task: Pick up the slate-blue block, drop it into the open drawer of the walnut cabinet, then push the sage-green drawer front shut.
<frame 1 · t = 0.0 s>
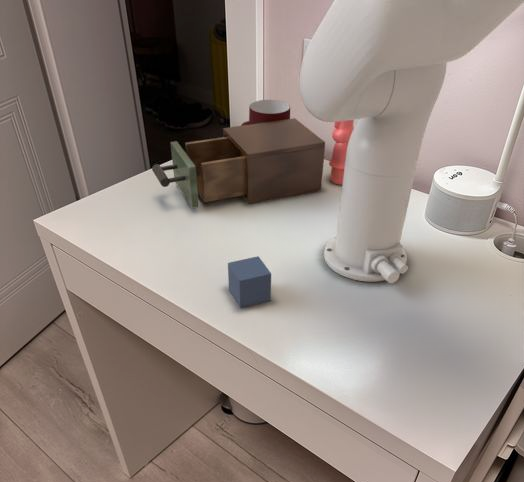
block: (249, 295, 76), on the table
drawer: (205, 170, 95), point 5 cm above the table, slide at 9.0 cm
figurine: (340, 180, 104), on the table
cabinet: (271, 183, 102), on the table
mug: (263, 158, 111), on the table
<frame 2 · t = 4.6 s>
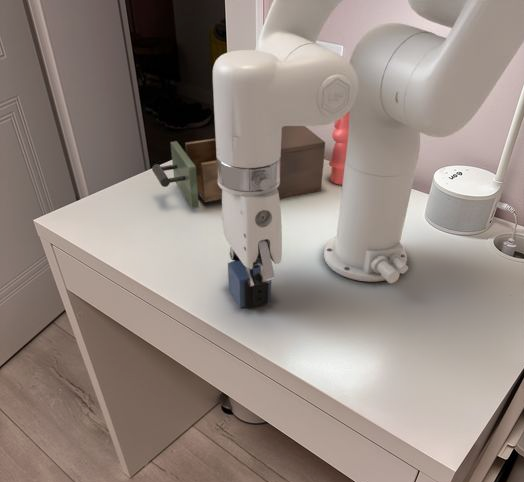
hand: (249, 293, 76), 0 cm above the table, tool pointing down, fingers closed on block, 4 cm apart
block: (249, 295, 76), on the table, touching gripper
everything else where it was.
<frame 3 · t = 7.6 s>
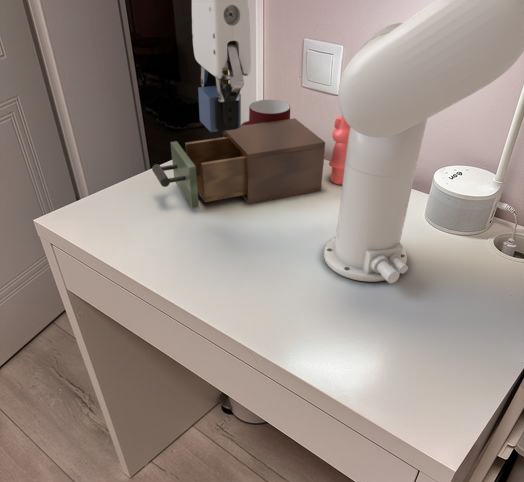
hand: (220, 121, 77), 18 cm above the table, tool pointing down, fingers closed on block, 4 cm apart
block: (220, 124, 77), point 17 cm above the table, touching gripper
everything else where it was.
when the fingers open (10 cm above the table, at t = 10.8 s): block drops 8 cm, resting on drawer.
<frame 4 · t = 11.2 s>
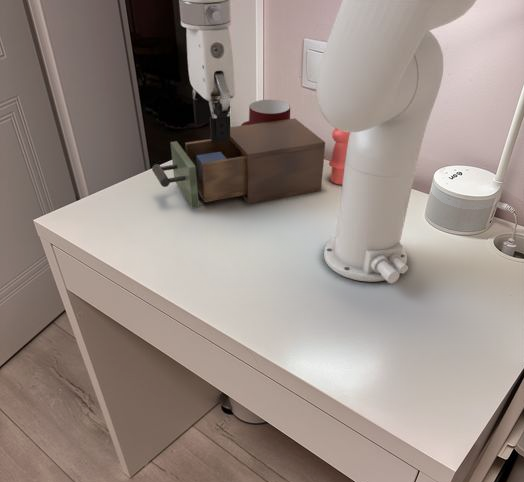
hand: (212, 131, 91), 11 cm above the table, tool pointing down, fingers open, 8 cm apart
block: (213, 183, 97), point 2 cm above the table, touching drawer
drawer: (205, 170, 95), point 5 cm above the table, slide at 9.0 cm, touching block
everything else where it was.
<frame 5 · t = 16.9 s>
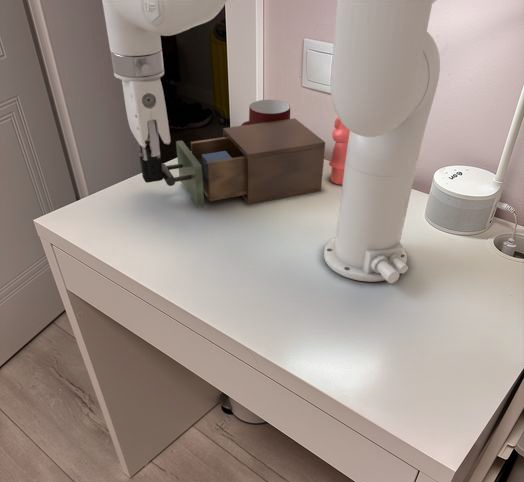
hand: (153, 179, 93), 4 cm above the table, tool pointing down, fingers closed
block: (218, 182, 98), point 2 cm above the table, touching drawer
drawer: (211, 169, 96), point 5 cm above the table, slide at 8.0 cm, touching block, gripper
everything else where it was.
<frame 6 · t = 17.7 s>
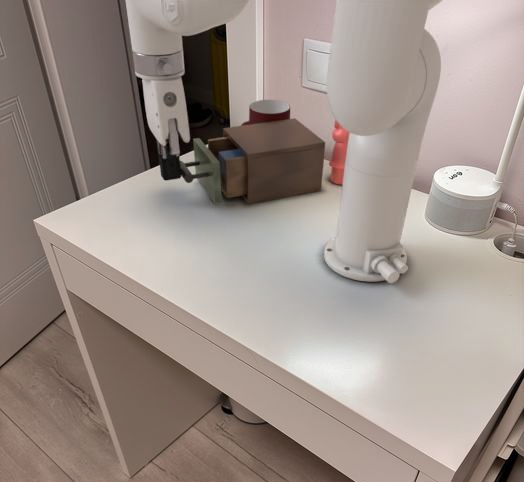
hand: (171, 177, 94), 4 cm above the table, tool pointing down, fingers closed
block: (235, 179, 99), point 2 cm above the table, touching drawer
drawer: (228, 167, 96), point 5 cm above the table, slide at 4.8 cm, touching block, gripper
everything else where it was.
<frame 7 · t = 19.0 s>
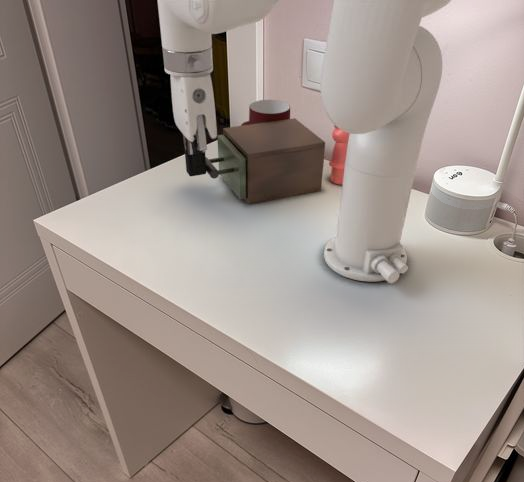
hand: (196, 173, 95), 4 cm above the table, tool pointing down, fingers closed
block: (258, 175, 100), point 2 cm above the table, touching drawer
drawer: (251, 163, 98), point 5 cm above the table, slide at 0.2 cm, touching block, gripper
everything else where it was.
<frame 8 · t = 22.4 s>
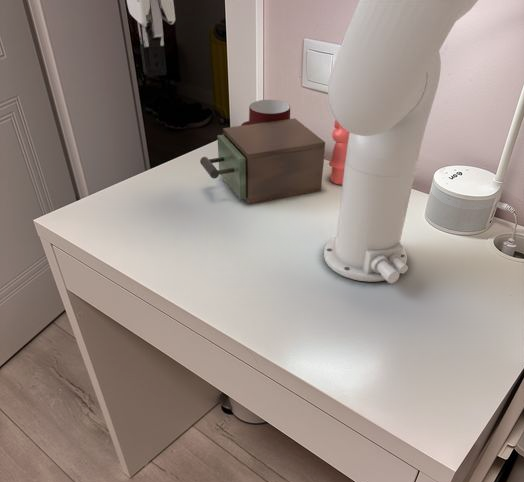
hand: (155, 73, 82), 21 cm above the table, tool pointing down, fingers closed
drawer: (251, 163, 98), point 5 cm above the table, slide at 0.1 cm, touching block
everything else where it was.
at the end: block inside the target area in the cabinet (2.7 cm from its centre), point 2.0 cm above the cabinet's base; drawer slide at 0.1 cm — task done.
